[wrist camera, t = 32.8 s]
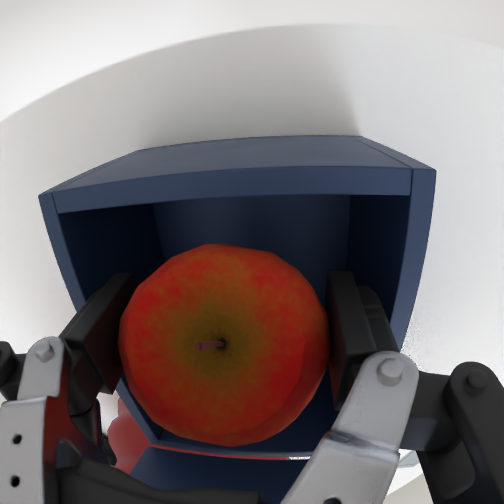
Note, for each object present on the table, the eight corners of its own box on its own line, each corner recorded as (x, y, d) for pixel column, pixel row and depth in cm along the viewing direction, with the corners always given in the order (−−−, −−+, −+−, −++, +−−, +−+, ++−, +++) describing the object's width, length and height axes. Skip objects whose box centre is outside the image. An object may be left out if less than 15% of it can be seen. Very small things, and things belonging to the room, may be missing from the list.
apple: (282, 263, 15) (276, 186, 8) (334, 378, 13) (381, 405, 6) (167, 312, 15) (76, 277, 8) (212, 426, 13) (147, 484, 6)
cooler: (137, 150, 16) (37, 195, 8) (361, 136, 15) (437, 169, 7) (182, 351, 23) (150, 444, 15) (343, 352, 22) (359, 453, 14)
